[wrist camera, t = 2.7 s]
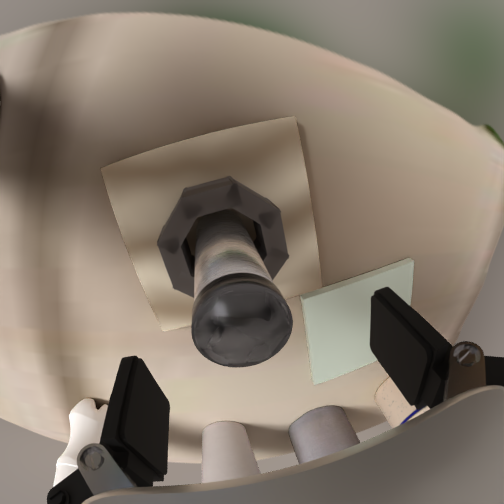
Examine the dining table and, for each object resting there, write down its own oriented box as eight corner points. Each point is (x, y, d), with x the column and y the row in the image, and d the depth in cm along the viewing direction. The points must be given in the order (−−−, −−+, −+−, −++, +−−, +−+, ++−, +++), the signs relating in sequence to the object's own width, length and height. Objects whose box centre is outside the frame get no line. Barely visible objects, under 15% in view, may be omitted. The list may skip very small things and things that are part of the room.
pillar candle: (340, 428, 42) (372, 493, 28) (287, 444, 40) (311, 515, 27) (347, 397, 38) (389, 471, 24) (286, 414, 37) (317, 499, 23)
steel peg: (188, 215, 22) (176, 302, 10) (239, 201, 23) (284, 273, 11) (202, 262, 24) (209, 376, 12) (250, 249, 24) (298, 352, 12)
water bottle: (125, 405, 31) (114, 577, 8) (116, 428, 33) (107, 574, 10) (76, 386, 29) (40, 555, 6) (72, 412, 31) (46, 556, 8)
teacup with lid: (365, 408, 41) (394, 458, 30) (383, 372, 37) (421, 426, 27) (416, 391, 43) (446, 432, 32) (434, 356, 39) (472, 398, 29)
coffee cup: (200, 449, 37) (209, 528, 24) (184, 419, 34) (190, 515, 20) (258, 441, 39) (278, 519, 25) (252, 410, 35) (277, 504, 21)
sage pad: (299, 294, 29) (303, 299, 28) (409, 257, 30) (414, 260, 29) (311, 380, 34) (314, 385, 33) (400, 343, 35) (404, 347, 34)
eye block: (105, 166, 21) (81, 174, 16) (289, 117, 22) (314, 111, 17) (164, 322, 27) (159, 359, 22) (317, 280, 28) (339, 309, 23)
